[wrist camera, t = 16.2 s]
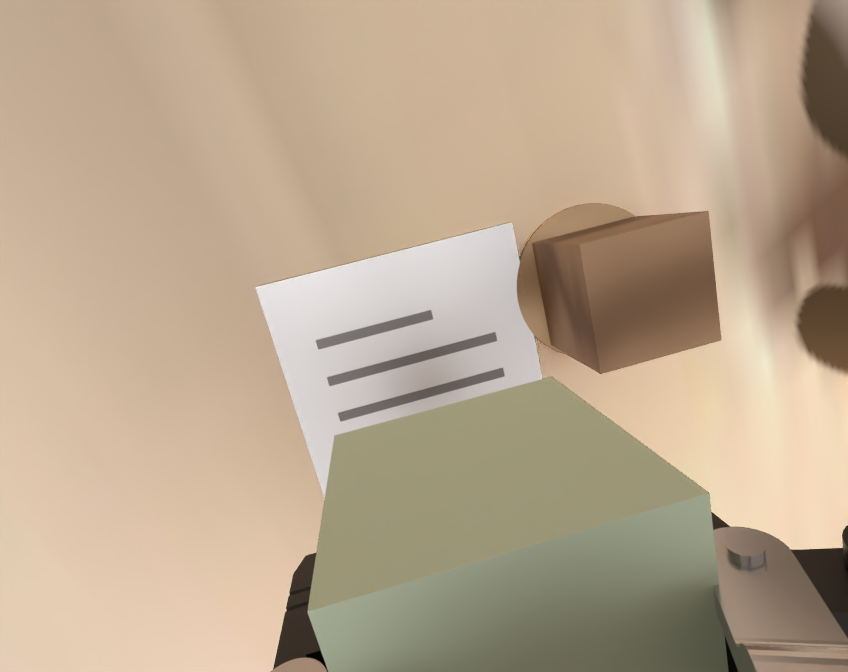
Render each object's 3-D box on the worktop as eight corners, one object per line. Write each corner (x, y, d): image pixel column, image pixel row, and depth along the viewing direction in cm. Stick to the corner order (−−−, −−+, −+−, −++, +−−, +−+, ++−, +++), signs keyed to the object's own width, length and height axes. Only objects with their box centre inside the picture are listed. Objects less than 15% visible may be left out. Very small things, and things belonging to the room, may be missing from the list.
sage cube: (334, 435, 11) (307, 612, 6) (552, 376, 12) (709, 492, 6) (390, 621, 13) (410, 904, 7) (585, 562, 13) (741, 791, 8)
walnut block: (531, 242, 24) (579, 244, 19) (632, 216, 24) (708, 211, 19) (550, 344, 25) (600, 374, 20) (646, 318, 26) (721, 339, 20)
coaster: (500, 225, 24) (502, 224, 24) (648, 187, 24) (652, 186, 24) (530, 371, 26) (532, 373, 25) (667, 333, 26) (670, 334, 26)
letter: (256, 286, 23) (255, 287, 23) (510, 222, 24) (512, 222, 24) (326, 499, 26) (325, 503, 25) (551, 435, 27) (554, 437, 26)
